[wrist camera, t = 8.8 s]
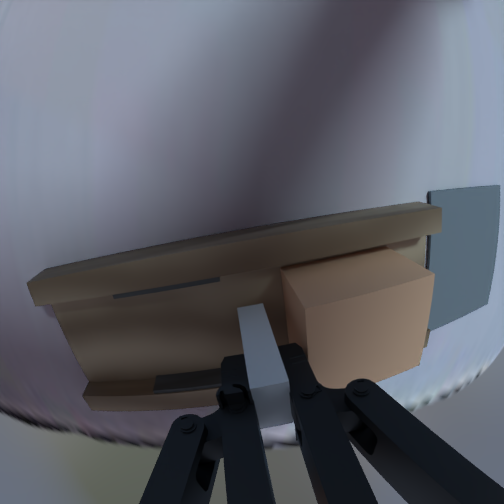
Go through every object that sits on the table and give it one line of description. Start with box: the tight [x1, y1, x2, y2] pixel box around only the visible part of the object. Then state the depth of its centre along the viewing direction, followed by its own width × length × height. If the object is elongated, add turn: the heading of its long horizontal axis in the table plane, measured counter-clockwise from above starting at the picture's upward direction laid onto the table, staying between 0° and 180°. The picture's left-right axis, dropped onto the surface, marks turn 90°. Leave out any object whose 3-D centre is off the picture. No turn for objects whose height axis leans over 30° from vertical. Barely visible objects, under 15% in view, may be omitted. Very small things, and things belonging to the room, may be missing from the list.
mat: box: [427, 185, 500, 331], centre depth 19 cm, size 12×10×1 cm
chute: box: [27, 202, 442, 411], centre depth 17 cm, size 11×26×2 cm, turn 99°
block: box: [280, 246, 435, 389], centre depth 15 cm, size 6×7×5 cm
